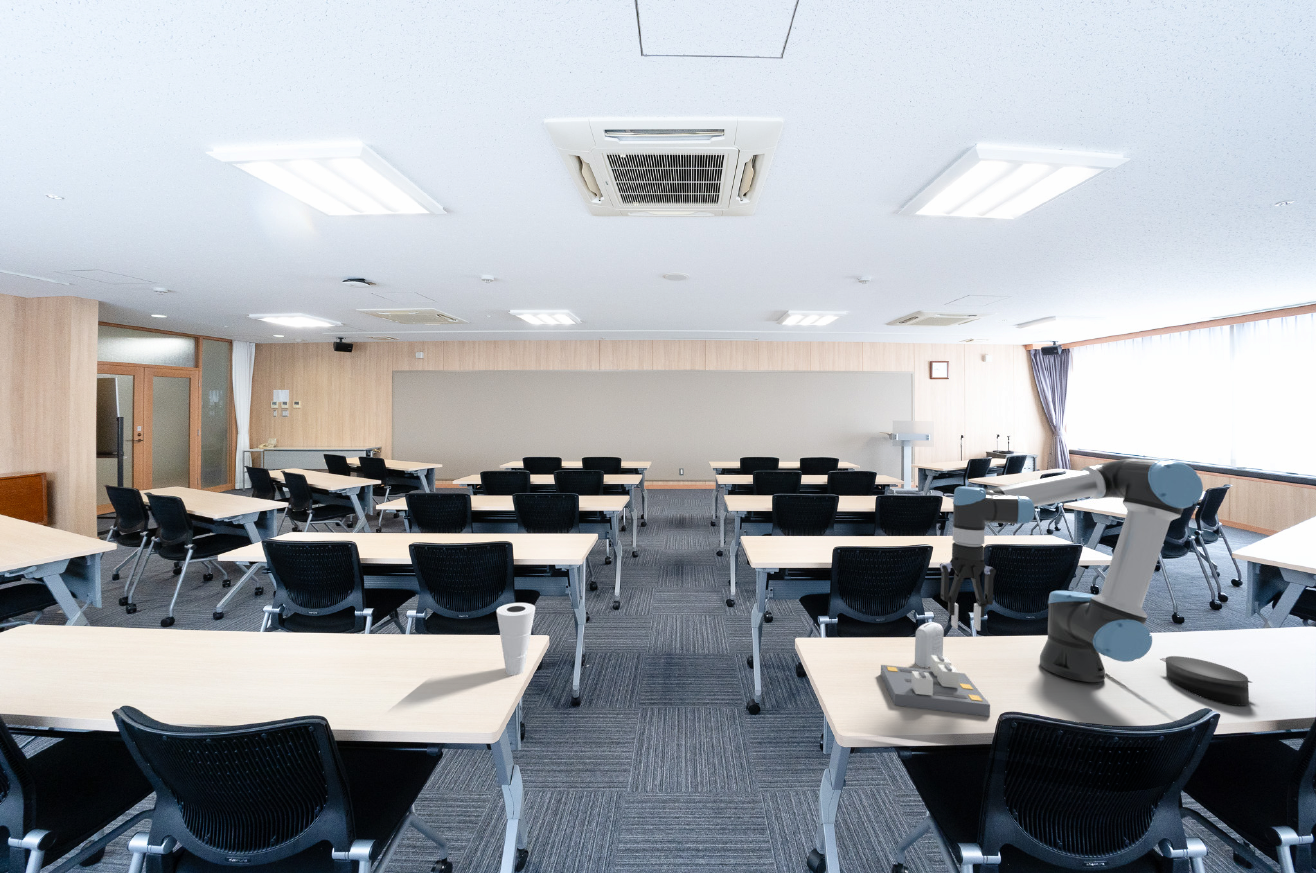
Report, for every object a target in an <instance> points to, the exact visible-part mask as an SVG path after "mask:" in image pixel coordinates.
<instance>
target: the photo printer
mask: <svg viewBox="0 0 1316 873" xmlns="http://www.w3.org/2000/svg"><path fill="white" fill-rule="evenodd" d="M914 640H915V643H914V644H915V645H914V664H915V663H916V664H917V665H918V667H919V666H921V667H920V668H922V667H925V668H924V669H929V668H928V667H931V655H935V656H937V654H940V655H941V656H944V628H943V626H942V625H941V624H940V623H938V622H933V621H930V622H926V623H923V624H921V625H920V626H919V627H918V628H917V629H916V630H915V639H914ZM916 664H915V665H916ZM917 665H916V666H917Z"/></svg>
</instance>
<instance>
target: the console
mask: <svg viewBox="0 0 1316 873" xmlns="http://www.w3.org/2000/svg"><path fill="white" fill-rule="evenodd" d="M919 670H922V671H923V672H926V673H929V675H930V676H931V678H932V679H933V696H932V695H923V694H916V693H915V692H914V690H913V688H912V686H911V684H912V671H916V672H919ZM880 676H881V679H882V678H883V679H882V681H883V683H884V686H885V687H886V689H887V692H888V693H889V696H890V697H891V700H892V702H893V705H894V706H896V707H897V706H898V707H907V708H913V709H922V710H931V711H938V712H939V711H941V712H948V713H956V714H965V715H975V716H981V717H982V716H983V717H990V716H991V704H990V703H989V701H988V699H986V697H984V695H983V694H982V693H981V692H980V690H979V689H978V688H977V686H976V685H975V684H974V683H973V682H972V680H971V679H970V678H969V676H967V674H966V673H964V672H959V688H954V687H945V686H942V685H941V684H940V682H939V681H938V679H937V676H935V675H934V674H933V672H932V671H931V669H928V668H919V667H918V668H915V667H906V666H898V665H897V666H896V665H888V664H880Z"/></svg>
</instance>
